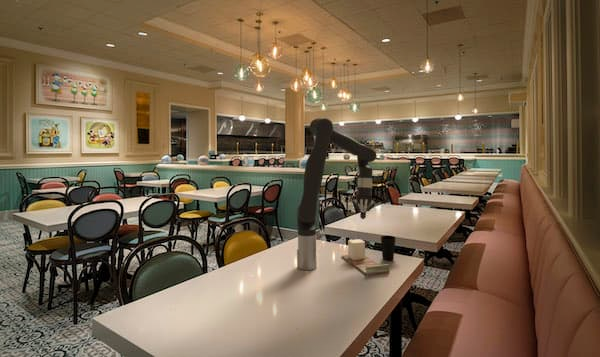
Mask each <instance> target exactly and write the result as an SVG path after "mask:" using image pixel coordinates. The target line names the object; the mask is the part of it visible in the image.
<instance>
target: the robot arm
mask: <svg viewBox="0 0 600 357" xmlns="http://www.w3.org/2000/svg"><path fill="white" fill-rule="evenodd" d="M309 131H310V133H311V134H312V135H313V136H315V140H314V142H315V143H314V145H313V149H312V150H311V153H310V154H309V155H308V157H307V160H306V162H305V163H306V164H305V169H304V174H303V192H302V197H301V200H300V203H299V205H298V206H297V209H296V220H297V223H296V224H297V250H296V260H297V261H296V263H297V264H296V265H297V269H300V270H303V271H312V270H315V269H317V265H318V263H317V225H316V224H317V223H316V216H317V210H318V209H317V207H318V196H319V192H320V189H321V186H322V181H323V177H324V172H325V171H324V170H325V164H326V159H327V154H328V149H329V145H330V143H331V144H334V145H336V147H339V148H340V149H342V150H344V151H345V152H346V153H347V152H348V154H350V155H352V156H355V157H356V159H357V160H356V161H357V165H358V170H359V171H358V181H357V195H356V196H355V199H354V200H352V201H351V204H353V206H354V207H355V209H356V210H357V211H358V212H360V214H359V215H360V219H362V220H365V219H366V216H367V212H370V210H371V209H373V208H374V206H376V203H377V202H375V201H374V200H373V198H372V194H373V192H372V191H373V170H374V169H373V168H372V167H370V166H369V163H372V162H375V161H376V159H377V151H375V150H374V149H373V148H372V147H370V146H367V145H364V144H362V143H360V142H359V141H356V140H355V139H353V138H352V137H351V136H348V135H345V134H344V133H341V132H338V131H337V130H335V129H334V124H333V122H332V120H331V119H330V118H327V117H318V118H315V119H313V120H311V122H310V124H309ZM357 203H358V204H359V206H358V204H357ZM369 205H370V206H369ZM367 207H368V208H367Z"/></svg>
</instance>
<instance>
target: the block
mask: <svg viewBox="0 0 600 357" xmlns="http://www.w3.org/2000/svg"><path fill="white" fill-rule="evenodd" d="M347 251H348V252H347V255H348V257H349V258H351V259H352V260H357V259H365V256H366V241H364V240H363V239H349V240H348V241H347Z"/></svg>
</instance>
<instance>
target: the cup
mask: <svg viewBox="0 0 600 357" xmlns="http://www.w3.org/2000/svg"><path fill="white" fill-rule="evenodd" d="M396 239H397V238H396V236H394V235H381V236H380V242H381V254H382V260H383V261H385V262H391V261H394V258H395V257H394V256H395V249H396V248H395V247H396Z"/></svg>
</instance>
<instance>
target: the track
mask: <svg viewBox="0 0 600 357" xmlns="http://www.w3.org/2000/svg"><path fill="white" fill-rule="evenodd" d="M341 258H342V259H344V260H345V261H346V262H347V263H349V264H350V266H351V265H352V266H353V267H354V268H356V269H357V270H358V271H359V272H361V273H362V274H364V275H365V276H366V277H367V276H374V275H375V276H376V275H382V274H390V264H389V263H385V264H379V263H377V262H376V261H374V260H373V259H371V258H370V257H369V256H366V255H365V259H357V260H352V259H351V258H349V257H348V254H345V255H341Z"/></svg>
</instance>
